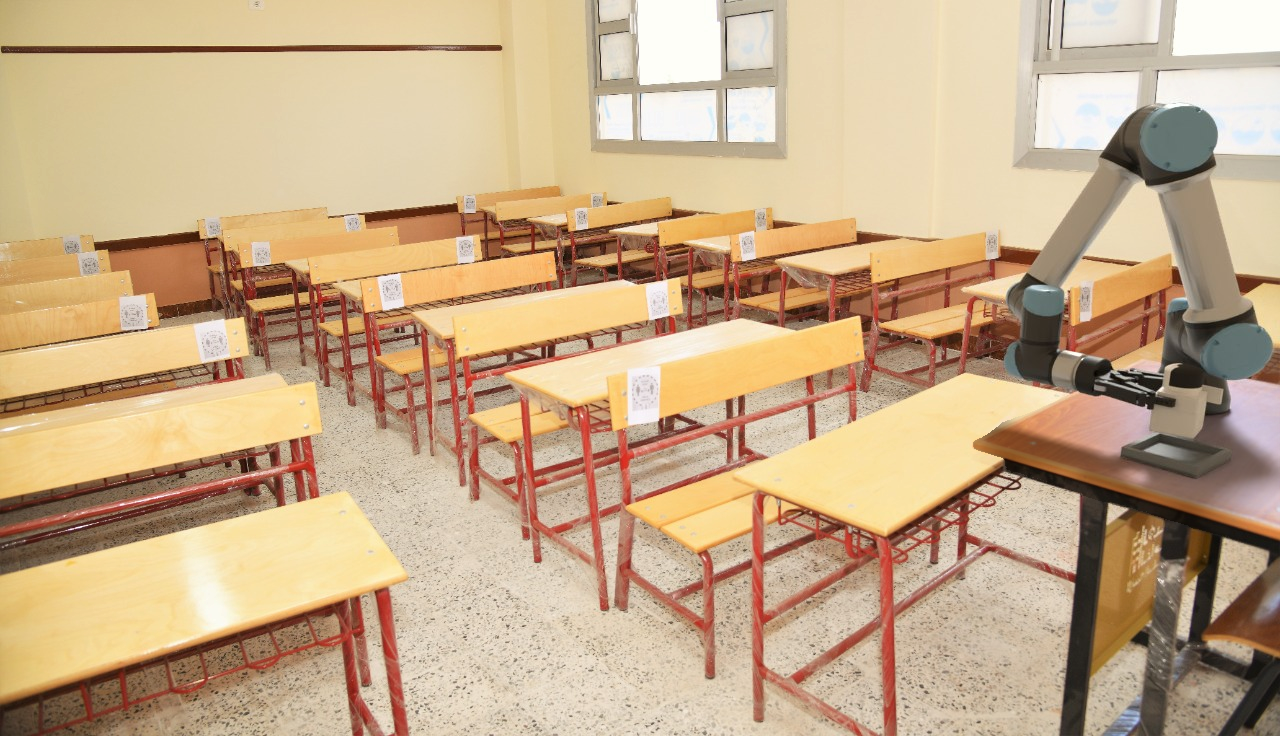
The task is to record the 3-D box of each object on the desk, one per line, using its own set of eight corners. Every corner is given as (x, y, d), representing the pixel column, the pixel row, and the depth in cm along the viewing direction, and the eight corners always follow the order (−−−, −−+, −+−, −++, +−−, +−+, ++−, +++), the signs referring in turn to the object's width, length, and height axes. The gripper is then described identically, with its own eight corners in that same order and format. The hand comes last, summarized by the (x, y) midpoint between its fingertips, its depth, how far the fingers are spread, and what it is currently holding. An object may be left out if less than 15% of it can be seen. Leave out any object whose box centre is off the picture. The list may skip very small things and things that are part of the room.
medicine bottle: (1202, 428, 160) (1212, 364, 157) (1193, 439, 155) (1203, 374, 152) (1158, 420, 165) (1167, 358, 161) (1148, 431, 160) (1157, 367, 156)
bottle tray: (1156, 440, 170) (1157, 430, 169) (1230, 460, 160) (1232, 449, 159) (1120, 457, 163) (1121, 446, 162) (1195, 478, 153) (1197, 467, 152)
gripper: (1110, 381, 179) (1233, 409, 161) (1050, 402, 168) (1176, 435, 150) (1114, 346, 177) (1240, 370, 159) (1054, 364, 166) (1182, 393, 148)
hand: (1209, 401), depth 154 cm, fingers closed on medicine bottle, 8 cm apart
